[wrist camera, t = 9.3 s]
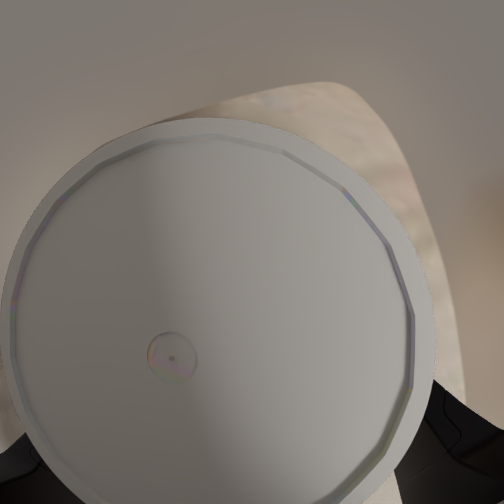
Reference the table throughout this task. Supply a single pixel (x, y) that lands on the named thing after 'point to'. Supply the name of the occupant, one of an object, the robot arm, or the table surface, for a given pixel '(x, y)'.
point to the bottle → (217, 322)
